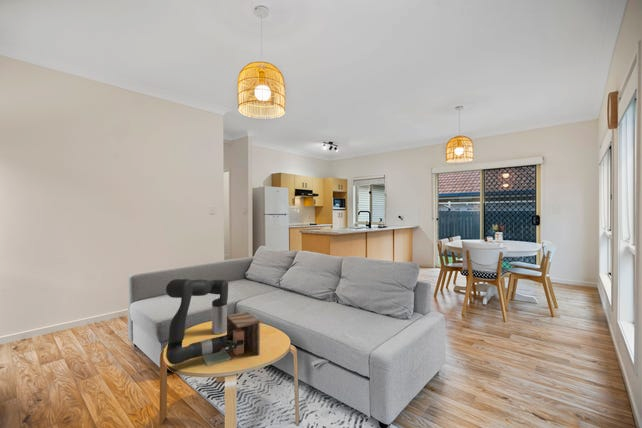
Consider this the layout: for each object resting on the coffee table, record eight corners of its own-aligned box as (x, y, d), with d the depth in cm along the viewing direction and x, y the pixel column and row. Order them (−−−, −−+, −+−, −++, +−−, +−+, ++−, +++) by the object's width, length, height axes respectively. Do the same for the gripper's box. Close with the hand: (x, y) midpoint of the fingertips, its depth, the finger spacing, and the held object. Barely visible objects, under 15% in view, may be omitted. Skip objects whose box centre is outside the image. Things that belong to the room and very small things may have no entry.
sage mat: (202, 356, 154) (202, 355, 154) (225, 350, 161) (225, 349, 161) (207, 365, 145) (207, 364, 145) (231, 358, 152) (231, 357, 152)
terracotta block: (233, 352, 160) (233, 330, 160) (241, 349, 162) (241, 328, 162) (235, 355, 156) (235, 332, 156) (243, 353, 159) (244, 331, 159)
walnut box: (226, 347, 165) (226, 315, 166) (247, 342, 172) (247, 311, 172) (237, 361, 150) (237, 326, 150) (259, 354, 156) (259, 321, 157)
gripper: (213, 344, 145) (245, 336, 154) (206, 334, 157) (236, 328, 166) (213, 359, 145) (245, 350, 154) (206, 348, 157) (236, 341, 166)
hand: (240, 339), depth 160 cm, fingers open, 8 cm apart
